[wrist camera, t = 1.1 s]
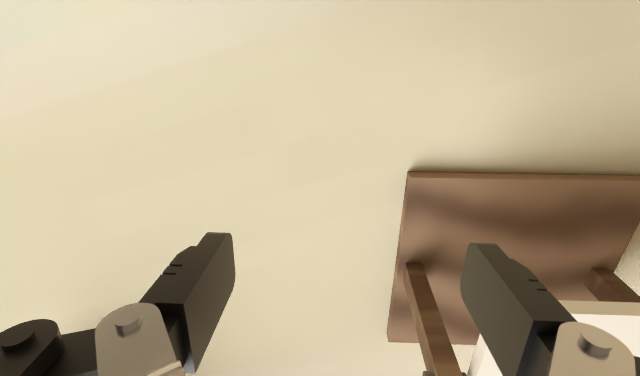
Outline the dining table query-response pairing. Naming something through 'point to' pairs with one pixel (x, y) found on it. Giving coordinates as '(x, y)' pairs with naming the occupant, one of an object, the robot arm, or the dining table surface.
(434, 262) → the stand
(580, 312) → the trapdoor
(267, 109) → the dining table surface
